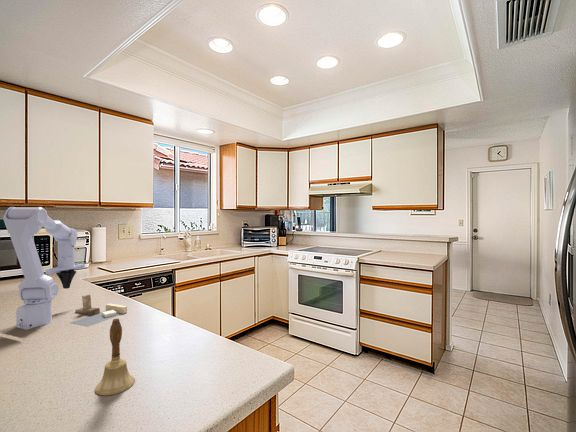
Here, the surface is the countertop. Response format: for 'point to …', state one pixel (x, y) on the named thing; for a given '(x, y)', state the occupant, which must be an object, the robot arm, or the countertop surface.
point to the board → (98, 317)
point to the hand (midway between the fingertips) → (66, 288)
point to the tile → (109, 313)
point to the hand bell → (115, 367)
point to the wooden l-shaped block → (87, 306)
